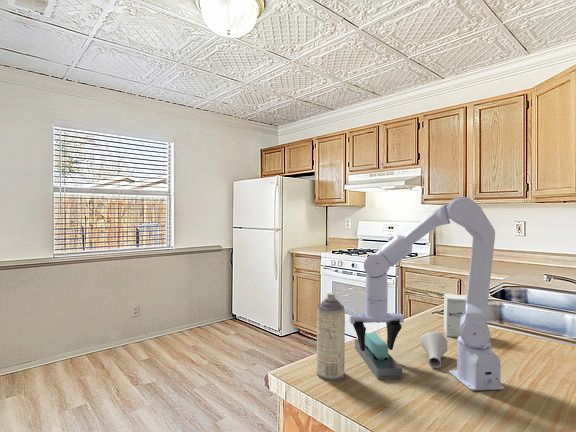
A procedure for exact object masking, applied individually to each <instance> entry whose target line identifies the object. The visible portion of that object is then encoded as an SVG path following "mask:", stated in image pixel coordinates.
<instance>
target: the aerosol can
mask: <svg viewBox="0 0 576 432" xmlns="http://www.w3.org/2000/svg"><path fill="white" fill-rule="evenodd" d="M345 313H346V311H345V306H344V305H343V304H341V302H340V301H339V300H338V299H337V298H336V297H335V293H333V292H329V293H327V296H326V298H324V300H323V301H321V303H320V304H318V305H317V308H316V316H317V317H316V376H317V377H318V378H320V379H321V380H324V381H340V380H342V379H344V377H345V359H346V358H345V352H346V351H345V348H346V347H345V345H346V344H345V343H346V339H345V336H346V335H345V333H346V332H345V328H346V327H345V325H346V324H345V323H346V321H345V319H346V314H345Z"/></svg>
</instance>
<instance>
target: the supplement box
mask: <svg viewBox="0 0 576 432" xmlns="http://www.w3.org/2000/svg"><path fill="white" fill-rule="evenodd" d="M466 299H467V294H451V293H444V294H443V331H444V335H445V337H453V338H458V337H459V336H460V332H459V330H460V317H461V315H462V314H463V313H464V311H465V305H466Z"/></svg>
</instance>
